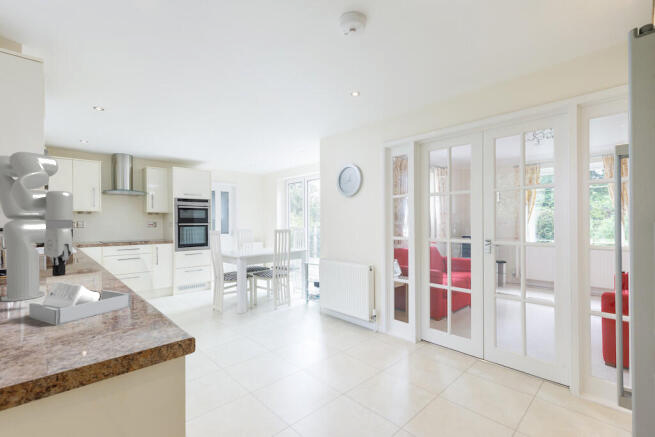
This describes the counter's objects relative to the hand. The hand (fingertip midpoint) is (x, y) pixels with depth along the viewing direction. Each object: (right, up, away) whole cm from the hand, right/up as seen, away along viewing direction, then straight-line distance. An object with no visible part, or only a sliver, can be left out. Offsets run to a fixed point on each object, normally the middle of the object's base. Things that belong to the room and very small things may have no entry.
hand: (58, 275), depth 112 cm
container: (+8, -4, -13) cm, 15 cm away
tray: (+15, -11, -7) cm, 20 cm away
